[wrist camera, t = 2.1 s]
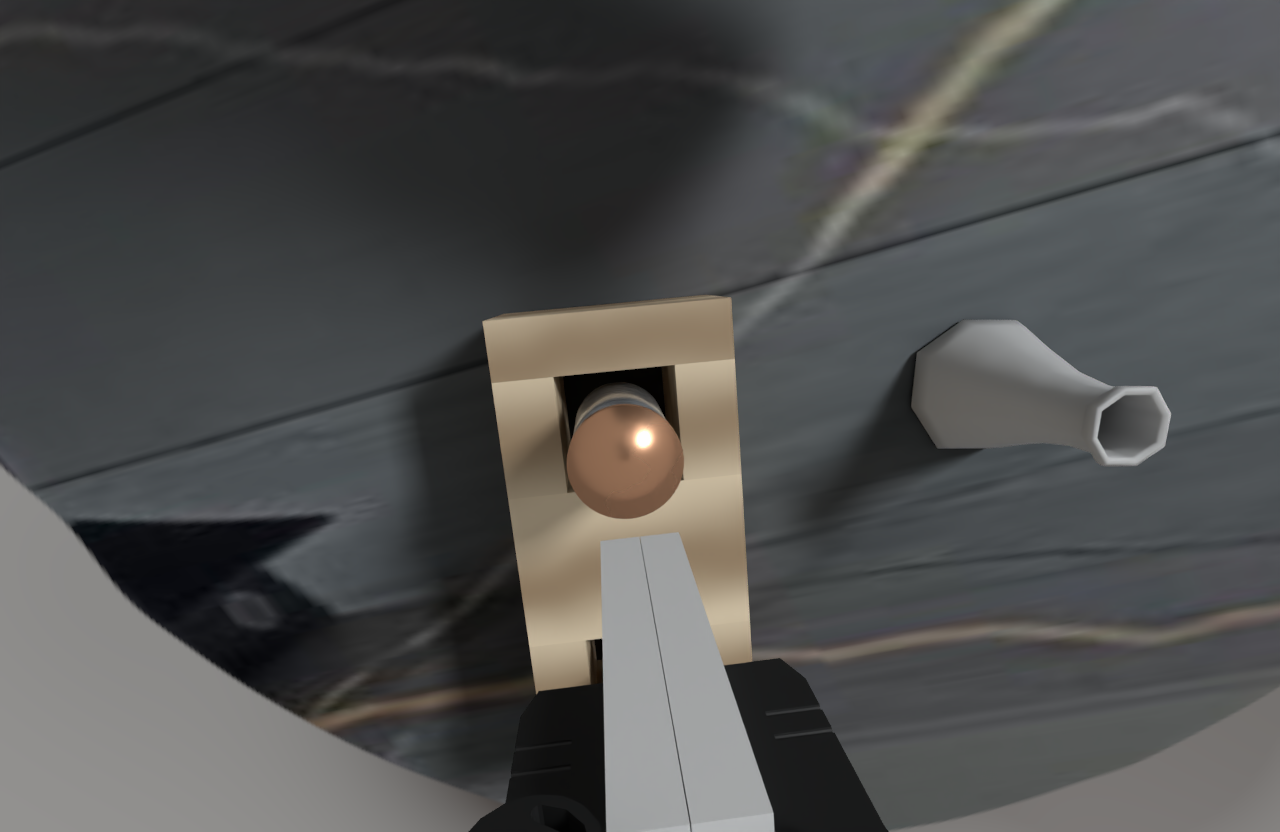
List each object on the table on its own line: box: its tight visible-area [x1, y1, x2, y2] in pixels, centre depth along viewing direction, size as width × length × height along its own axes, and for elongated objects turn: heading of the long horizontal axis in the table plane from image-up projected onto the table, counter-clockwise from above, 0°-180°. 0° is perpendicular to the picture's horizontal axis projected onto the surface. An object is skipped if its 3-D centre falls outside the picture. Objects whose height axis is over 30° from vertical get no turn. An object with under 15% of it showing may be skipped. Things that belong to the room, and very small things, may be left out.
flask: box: [911, 320, 1171, 466], centre depth 28 cm, size 7×7×10 cm
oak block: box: [483, 295, 752, 695], centre depth 30 cm, size 22×10×6 cm, turn 5°
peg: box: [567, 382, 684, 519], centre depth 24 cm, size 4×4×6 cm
